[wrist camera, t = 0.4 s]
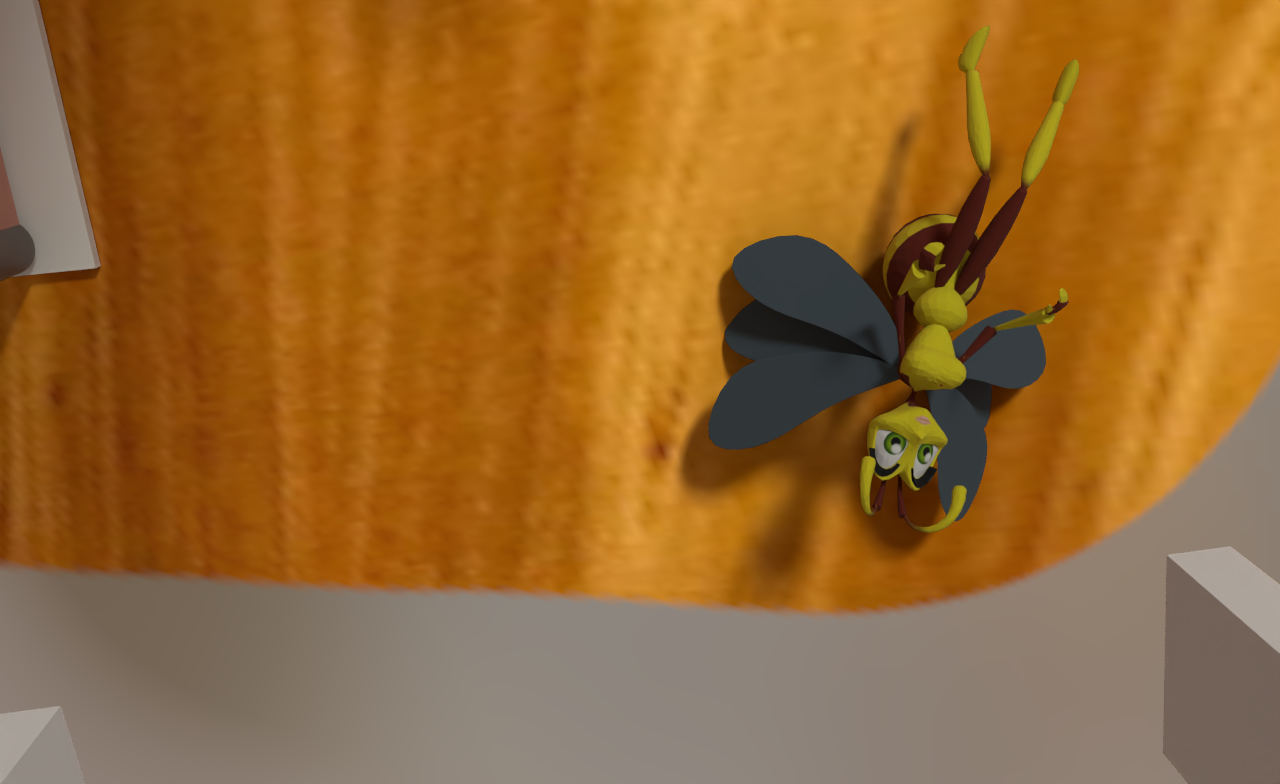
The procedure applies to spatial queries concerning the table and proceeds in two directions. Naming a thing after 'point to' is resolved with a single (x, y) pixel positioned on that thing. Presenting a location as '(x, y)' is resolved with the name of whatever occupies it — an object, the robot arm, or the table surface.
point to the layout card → (40, 146)
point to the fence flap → (12, 233)
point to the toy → (892, 332)
